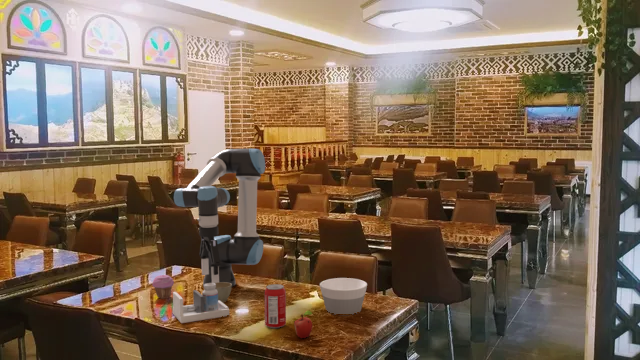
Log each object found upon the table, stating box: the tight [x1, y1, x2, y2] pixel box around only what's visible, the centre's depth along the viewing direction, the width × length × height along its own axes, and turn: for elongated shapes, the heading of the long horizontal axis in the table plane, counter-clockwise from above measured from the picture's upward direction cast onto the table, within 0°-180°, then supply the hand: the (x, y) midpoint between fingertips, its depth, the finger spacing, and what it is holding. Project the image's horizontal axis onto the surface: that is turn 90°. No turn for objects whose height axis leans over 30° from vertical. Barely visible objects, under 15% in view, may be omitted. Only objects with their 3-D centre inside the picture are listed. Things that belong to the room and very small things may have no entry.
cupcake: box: [152, 274, 175, 299], centre depth 253 cm, size 9×9×10 cm
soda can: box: [263, 284, 287, 329], centre depth 213 cm, size 8×8×15 cm
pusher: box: [187, 289, 204, 313], centre depth 227 cm, size 5×10×8 cm, turn 28°
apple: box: [293, 310, 313, 339], centre depth 201 cm, size 8×7×10 cm
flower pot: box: [215, 282, 233, 303], centre depth 246 cm, size 10×10×7 cm
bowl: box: [319, 277, 368, 315], centre depth 233 cm, size 19×19×11 cm
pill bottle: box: [201, 283, 218, 312], centre depth 230 cm, size 6×6×11 cm
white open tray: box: [172, 291, 230, 324], centre depth 228 cm, size 19×13×9 cm
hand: (210, 278), depth 230 cm, fingers open, 13 cm apart
